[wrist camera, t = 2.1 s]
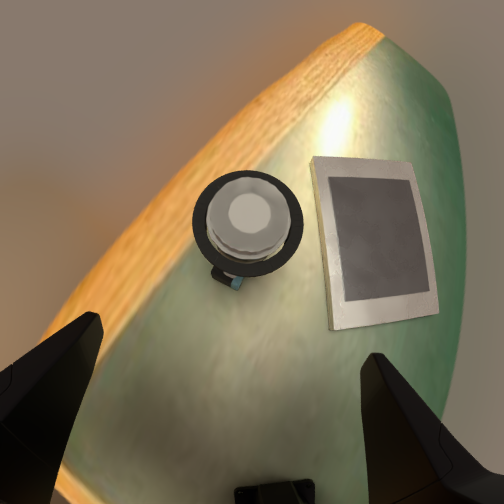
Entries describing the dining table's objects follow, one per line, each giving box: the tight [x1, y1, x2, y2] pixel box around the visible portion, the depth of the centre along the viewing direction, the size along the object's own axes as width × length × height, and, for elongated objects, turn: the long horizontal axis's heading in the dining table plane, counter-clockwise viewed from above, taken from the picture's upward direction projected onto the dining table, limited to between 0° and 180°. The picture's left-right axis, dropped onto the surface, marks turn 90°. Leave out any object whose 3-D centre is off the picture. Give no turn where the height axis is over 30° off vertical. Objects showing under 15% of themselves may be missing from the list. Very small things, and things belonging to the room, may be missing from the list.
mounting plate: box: [310, 156, 439, 330], centre depth 24 cm, size 14×10×1 cm
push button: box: [192, 170, 304, 290], centre depth 19 cm, size 7×5×10 cm
